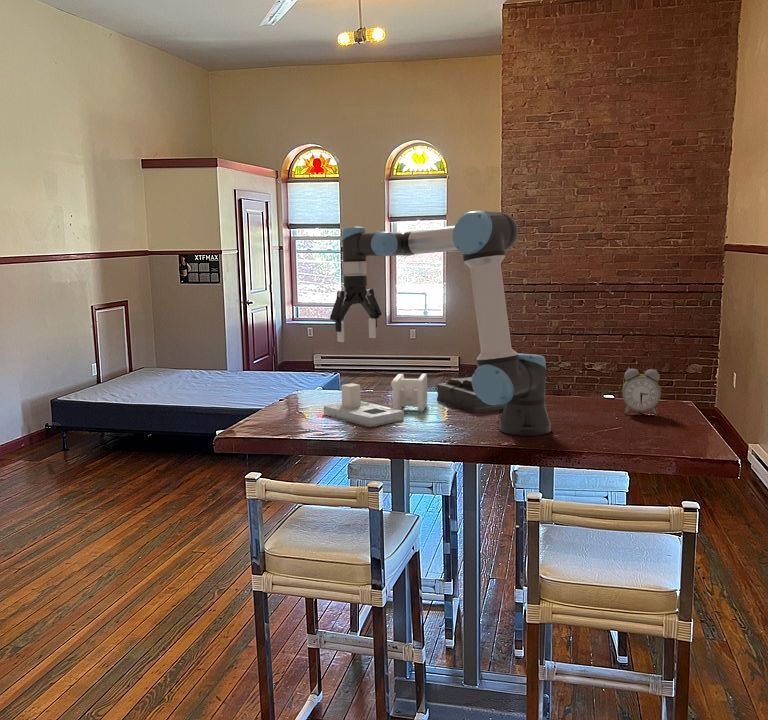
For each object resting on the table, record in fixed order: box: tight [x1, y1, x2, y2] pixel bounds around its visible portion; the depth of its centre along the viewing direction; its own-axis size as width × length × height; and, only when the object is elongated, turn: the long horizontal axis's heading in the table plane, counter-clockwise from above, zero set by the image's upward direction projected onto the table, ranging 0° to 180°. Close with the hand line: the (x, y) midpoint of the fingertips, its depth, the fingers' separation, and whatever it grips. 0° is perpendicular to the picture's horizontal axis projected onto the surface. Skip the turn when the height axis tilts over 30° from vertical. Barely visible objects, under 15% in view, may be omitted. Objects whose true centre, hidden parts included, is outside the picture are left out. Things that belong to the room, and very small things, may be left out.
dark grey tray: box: [436, 376, 505, 413], centre depth 256 cm, size 23×27×10 cm
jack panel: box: [323, 400, 405, 428], centre depth 238 cm, size 24×14×3 cm, turn 41°
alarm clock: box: [621, 368, 662, 417], centre depth 235 cm, size 12×7×15 cm, turn 72°
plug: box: [341, 382, 362, 408], centre depth 242 cm, size 6×4×10 cm
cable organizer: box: [390, 373, 428, 413], centre depth 248 cm, size 15×11×12 cm
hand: (357, 339), depth 241 cm, fingers open, 13 cm apart
